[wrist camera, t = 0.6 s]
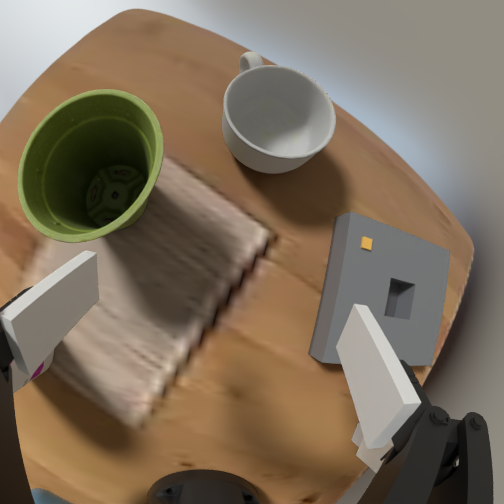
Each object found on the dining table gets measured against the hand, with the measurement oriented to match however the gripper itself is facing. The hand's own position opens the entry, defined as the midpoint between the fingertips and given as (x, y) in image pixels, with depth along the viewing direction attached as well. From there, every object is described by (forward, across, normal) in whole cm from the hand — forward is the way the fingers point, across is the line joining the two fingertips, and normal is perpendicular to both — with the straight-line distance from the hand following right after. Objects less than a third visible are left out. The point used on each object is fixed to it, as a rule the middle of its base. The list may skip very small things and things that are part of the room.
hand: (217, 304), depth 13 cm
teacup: (+22, 0, -10) cm, 25 cm away
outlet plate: (+18, -19, +6) cm, 27 cm away
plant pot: (+15, +13, 0) cm, 20 cm away
